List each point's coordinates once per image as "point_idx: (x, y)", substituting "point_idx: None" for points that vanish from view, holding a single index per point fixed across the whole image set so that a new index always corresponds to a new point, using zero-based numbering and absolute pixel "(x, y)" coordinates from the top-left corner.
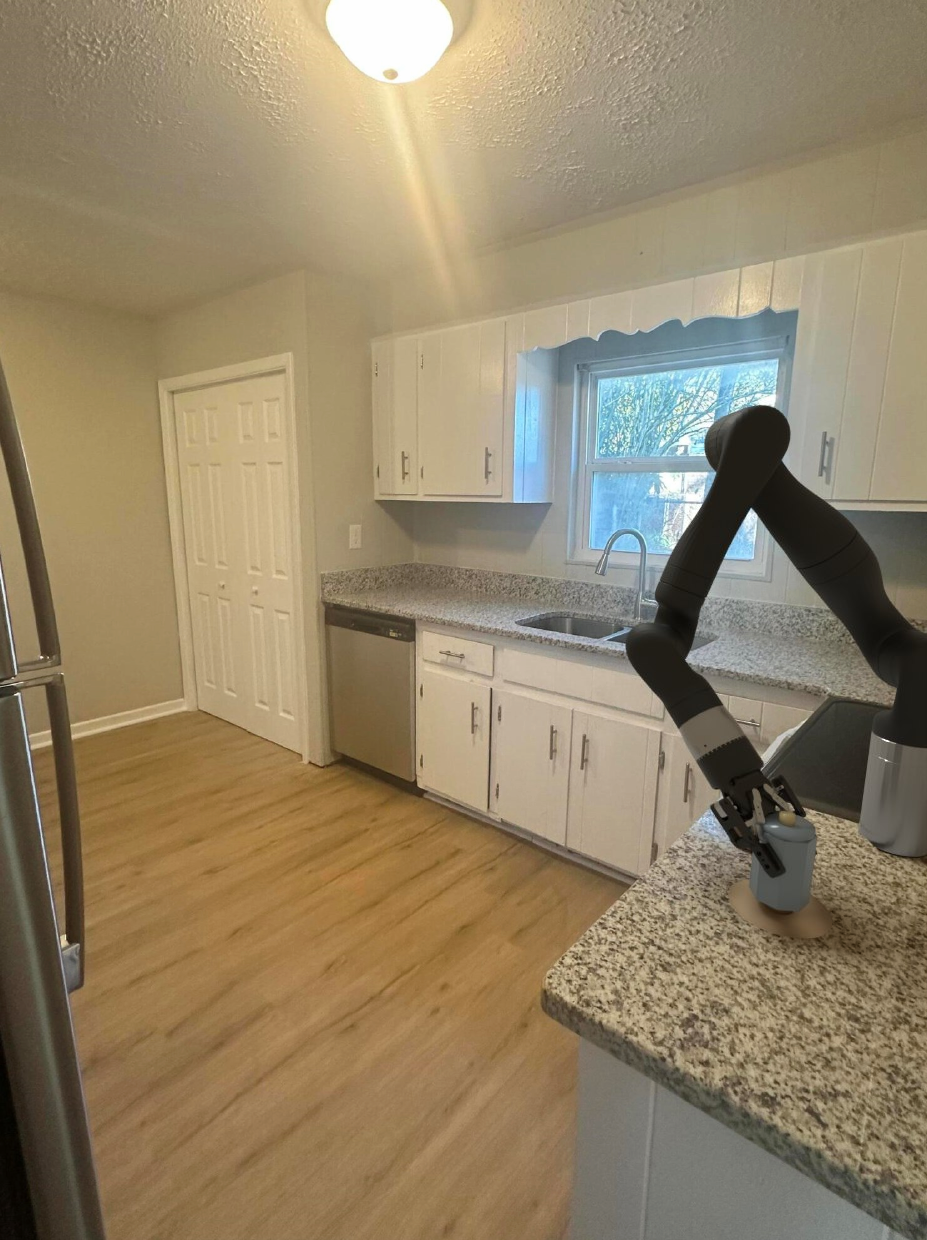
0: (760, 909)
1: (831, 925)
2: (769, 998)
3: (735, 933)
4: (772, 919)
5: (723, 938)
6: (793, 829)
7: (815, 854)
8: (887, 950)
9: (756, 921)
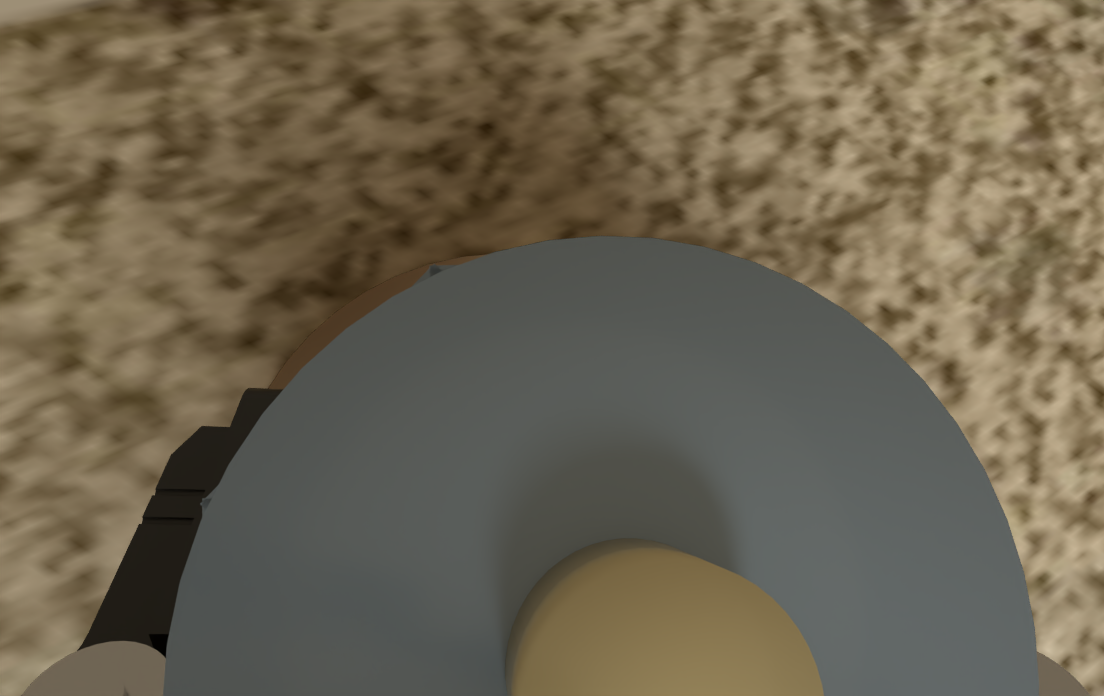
0: None
1: (440, 262)
2: (1062, 242)
3: None
4: None
5: None
6: (743, 480)
7: (281, 390)
8: (358, 53)
9: None
